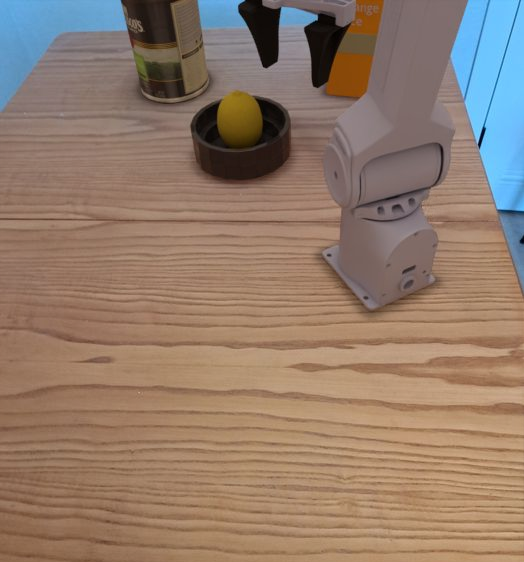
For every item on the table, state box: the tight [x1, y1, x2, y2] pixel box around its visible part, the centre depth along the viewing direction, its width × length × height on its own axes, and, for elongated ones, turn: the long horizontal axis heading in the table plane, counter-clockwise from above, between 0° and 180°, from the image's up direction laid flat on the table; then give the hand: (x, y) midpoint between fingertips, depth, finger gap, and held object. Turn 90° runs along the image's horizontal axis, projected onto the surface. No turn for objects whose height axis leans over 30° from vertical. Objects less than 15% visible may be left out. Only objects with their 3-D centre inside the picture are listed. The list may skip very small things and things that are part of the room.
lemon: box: [217, 89, 263, 149], centre depth 70 cm, size 6×6×8 cm
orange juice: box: [326, 0, 384, 99], centre depth 75 cm, size 8×9×20 cm
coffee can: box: [120, 0, 210, 104], centre depth 79 cm, size 10×10×14 cm
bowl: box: [189, 95, 292, 181], centre depth 72 cm, size 12×12×4 cm
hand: (294, 74), depth 67 cm, fingers open, 7 cm apart
